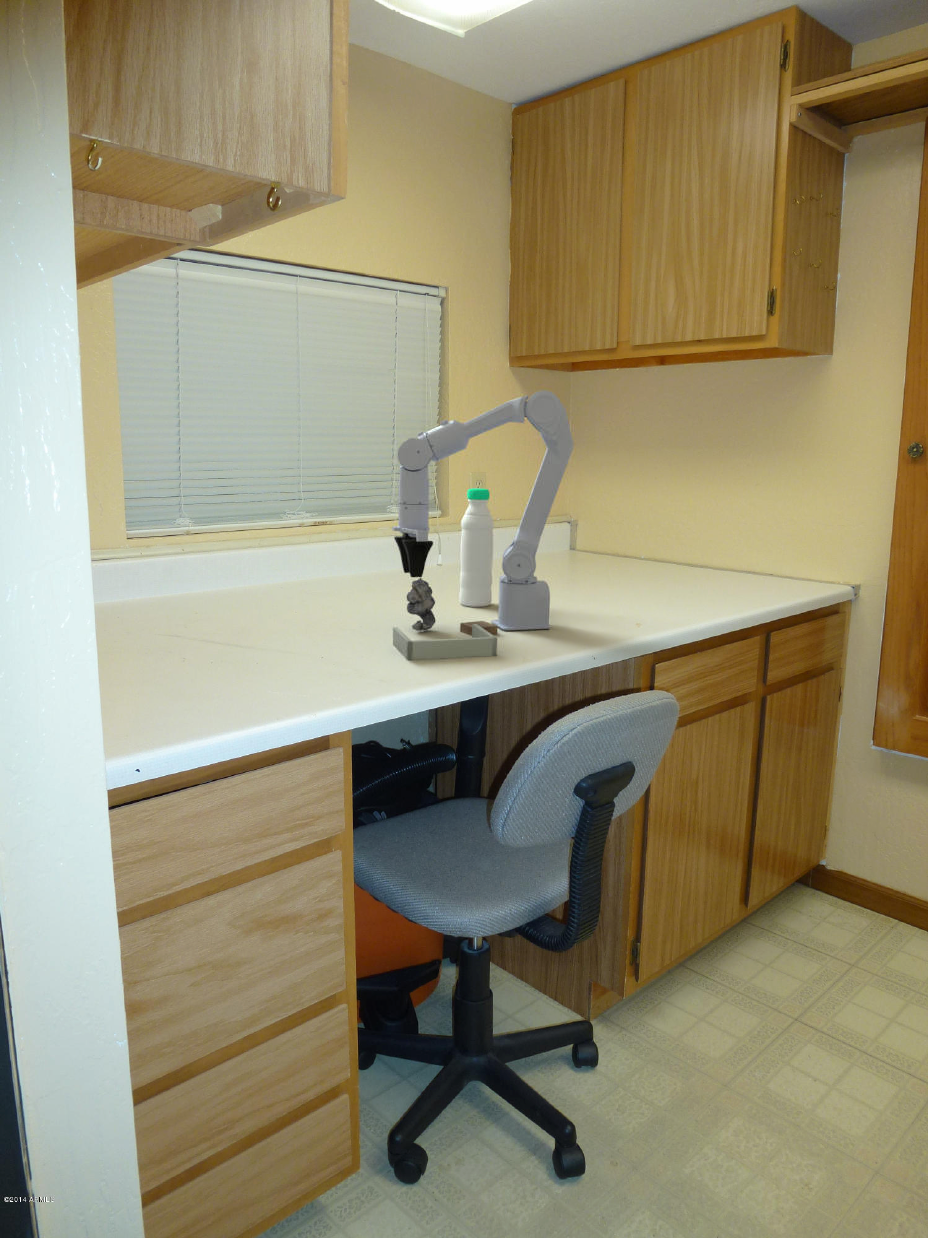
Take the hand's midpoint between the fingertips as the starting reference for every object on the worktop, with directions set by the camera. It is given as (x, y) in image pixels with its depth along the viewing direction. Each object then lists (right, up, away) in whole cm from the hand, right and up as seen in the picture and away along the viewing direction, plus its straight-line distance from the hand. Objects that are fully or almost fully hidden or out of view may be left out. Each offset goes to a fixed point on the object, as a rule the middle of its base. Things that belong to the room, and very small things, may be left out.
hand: (412, 574), depth 166 cm
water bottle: (+12, -6, +22) cm, 26 cm away
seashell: (+2, -11, -5) cm, 12 cm away
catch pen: (+6, -14, -19) cm, 24 cm away
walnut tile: (+13, -11, -5) cm, 18 cm away
